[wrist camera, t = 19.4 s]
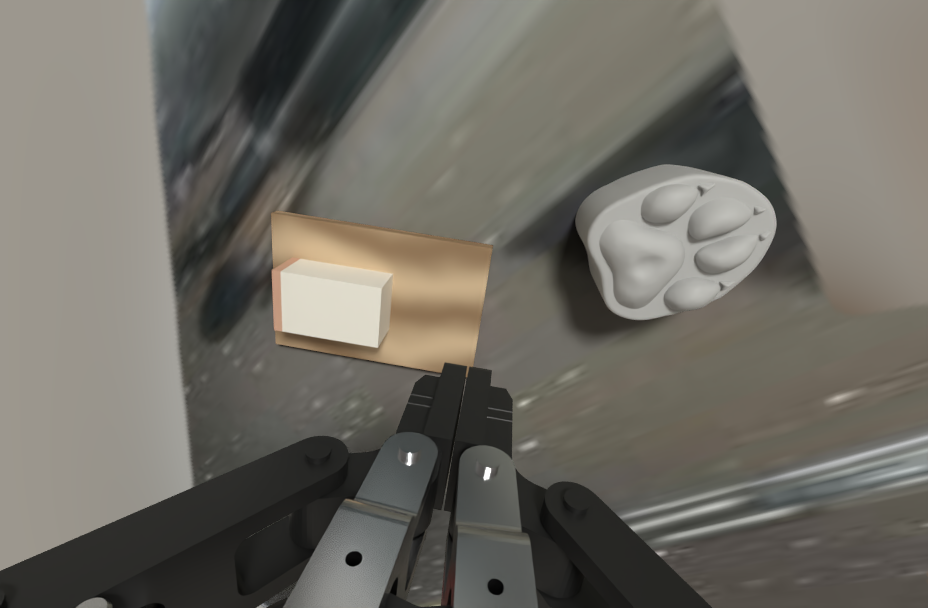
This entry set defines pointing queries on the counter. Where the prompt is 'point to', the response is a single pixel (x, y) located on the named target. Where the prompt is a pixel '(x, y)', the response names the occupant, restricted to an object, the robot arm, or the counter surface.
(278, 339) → the board
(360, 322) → the block
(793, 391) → the counter surface
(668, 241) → the paw stamp
